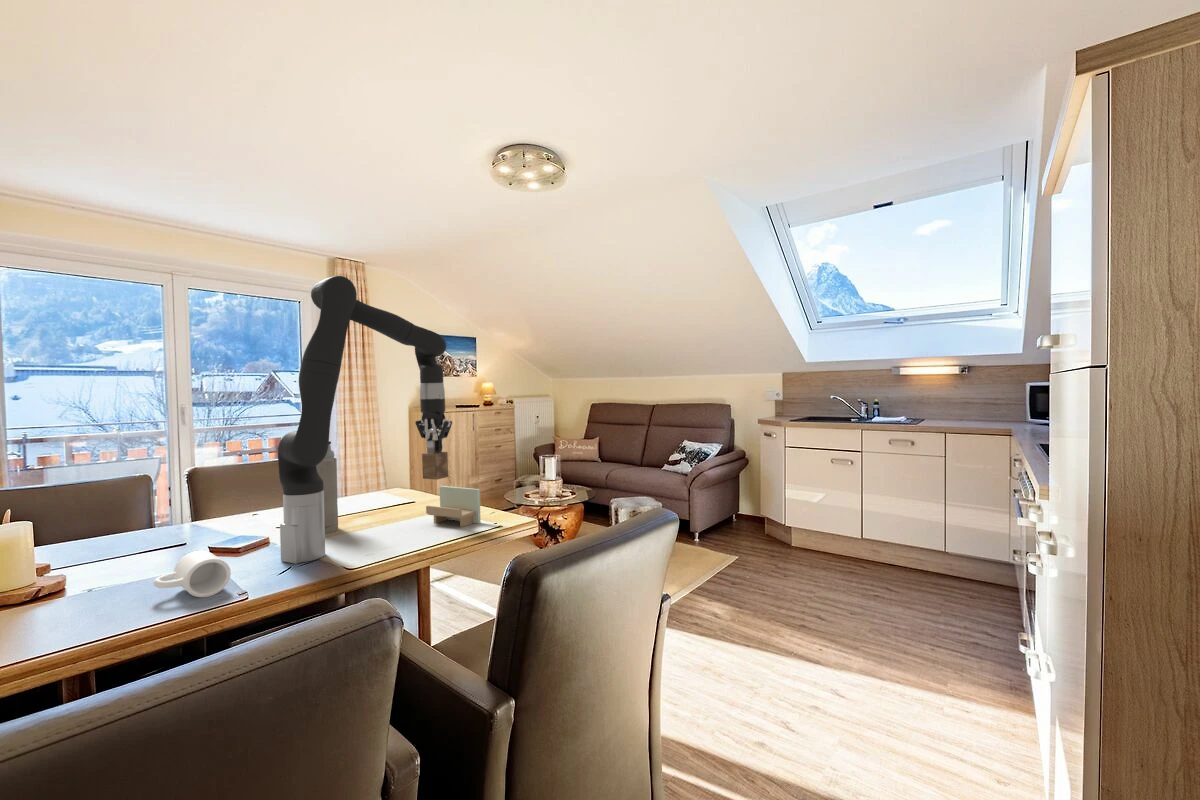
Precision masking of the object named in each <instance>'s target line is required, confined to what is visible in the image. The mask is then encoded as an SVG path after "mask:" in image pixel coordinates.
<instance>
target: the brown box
mask: <svg viewBox="0 0 1200 800" xmlns="http://www.w3.org/2000/svg"><path fill="white" fill-rule="evenodd" d="M435 441H436V440H435V439H433V440H430V441H427V440H426V450H427V451H426V452H422V453H421V462H422V463H421V465H422V479H425V480H426V479H427V480H437V481H438V480H441V479H445V478H449V459H448V458H449V456H448V454H449V453H448V451H443V449H442V450H441V452H435Z"/></svg>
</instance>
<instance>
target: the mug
mask: <svg viewBox="0 0 1200 800" xmlns="http://www.w3.org/2000/svg"><path fill="white" fill-rule="evenodd" d="M231 573H232V572H231V568H230V566H229V564H228V563H227V562H226V561H224V560H223V559H221V558H219V556H216V554H214V553H211V552H210V551H207V550H195V551H192V552H189V553H187V554H185V555H184V556H182V557H181V558H180V559H179V560H178V562H177V563H176V565H175V566H174V569H173V571H172V572H169V573H165V574H163V575H160V576H158V577H156V578H155V579H154V580H153V586H154V587H155V588H158V589H169V588H176V587H182V588H183V589H184V590H185V591H186V592H187V593H189V595H191V596H193V597H195V598H208V597H212V596H215V595H217V594H218V593H220V592H221V591H222V590H224V589H225V588H226V586H227V585H228V584H229V581H230V579H231V575H232V574H231Z"/></svg>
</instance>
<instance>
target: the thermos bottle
mask: <svg viewBox="0 0 1200 800" xmlns="http://www.w3.org/2000/svg"><path fill="white" fill-rule="evenodd" d="M331 444H332V442H331V441H330V440H329V445H328V451H327V454H326V456H325V458H324V459H323V461H322V462H321V463H319V464H318V465H316V468H317V472H318V474H319V476H320V477H321V479H322V480H323V484H324V525H325V534H328V533H332V532H335V531H338V530H339V510H338V509H339V506H338V468H337V467H338V464H337V463H338V462H337V457H335V451H333V450H332V448H331V447H332V446H331Z"/></svg>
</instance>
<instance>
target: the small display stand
mask: <svg viewBox="0 0 1200 800" xmlns="http://www.w3.org/2000/svg"><path fill="white" fill-rule="evenodd" d="M480 490H481V489H480V488H472V487H471V488H470V487H459V486H450V485H449V486H448V485H447V486H446V485H440V486H439V506H438V505H437V506H435V505H425V513H426V514H427V515H428V516H433V524H439V523H442V522H445V521H453V520H455V521H454V522H459V527H460V526H461V527H466V526H468V525H471V524H481V491H480ZM447 519H448V520H447ZM444 520H445V521H444ZM441 521H442V522H441ZM438 522H439V523H438Z"/></svg>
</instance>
